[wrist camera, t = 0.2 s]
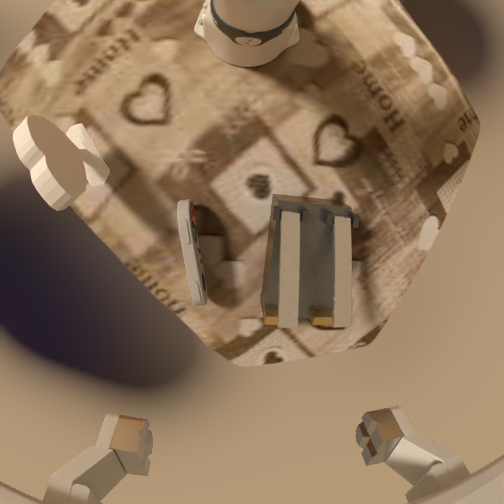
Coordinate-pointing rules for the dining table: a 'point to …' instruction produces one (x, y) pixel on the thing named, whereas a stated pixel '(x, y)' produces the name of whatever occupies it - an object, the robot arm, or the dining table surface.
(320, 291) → the grey boxy piece
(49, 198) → the heart sculpture
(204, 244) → the dining table surface
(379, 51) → the dining table surface
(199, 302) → the game controller
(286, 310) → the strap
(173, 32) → the dining table surface
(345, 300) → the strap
